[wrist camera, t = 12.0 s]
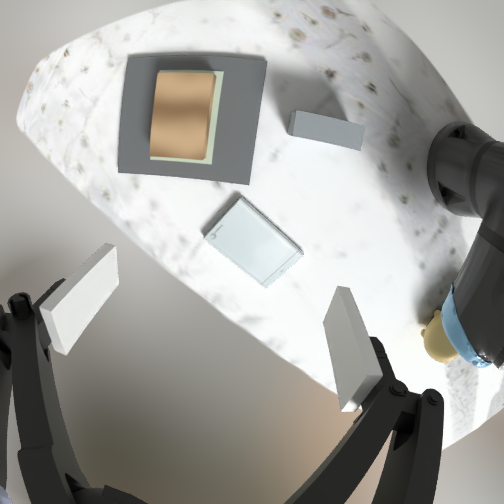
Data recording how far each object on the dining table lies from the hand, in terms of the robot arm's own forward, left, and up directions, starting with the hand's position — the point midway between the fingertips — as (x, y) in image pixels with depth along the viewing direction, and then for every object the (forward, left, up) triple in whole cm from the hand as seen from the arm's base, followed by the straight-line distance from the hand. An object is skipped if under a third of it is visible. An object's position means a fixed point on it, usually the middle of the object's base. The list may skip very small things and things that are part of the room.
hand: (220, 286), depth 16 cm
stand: (-9, -10, -24) cm, 27 cm away
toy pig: (-43, +18, -24) cm, 52 cm away
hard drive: (-2, +8, -25) cm, 26 cm away
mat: (+9, -9, -24) cm, 27 cm away
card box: (+9, -9, -23) cm, 26 cm away
